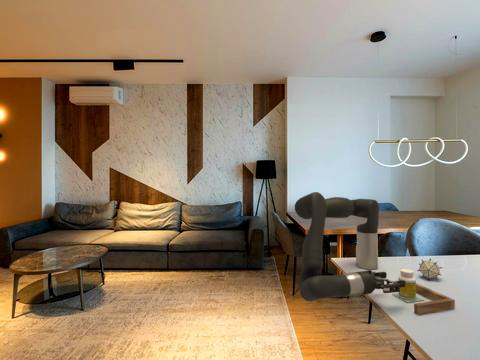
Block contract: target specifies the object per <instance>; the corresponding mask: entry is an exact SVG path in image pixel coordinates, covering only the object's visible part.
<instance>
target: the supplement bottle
mask: <svg viewBox="0 0 480 360" xmlns="http://www.w3.org/2000/svg"><path fill="white" fill-rule="evenodd" d="M399 280H404V281H405V287H402V288H400V292H398V293H399V296H400V297H401V298H403V299H407V300H414V299H416V296H417V293H416V283H417V281H416V277H414V271H413V270H412V269H408V268H401V269H400V275H399V276H398V281H399Z"/></svg>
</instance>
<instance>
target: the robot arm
mask: <svg viewBox="0 0 480 360" xmlns="http://www.w3.org/2000/svg"><path fill="white" fill-rule="evenodd" d="M294 211H295V213H296V215H297V216H299V217H300V218H301V219H303V220H311V221H310V226H309V228H308V232H307V233H306V236H305V238H304V241H303V244H302V250H301V251H302V253H301V255H302V258H301V261H302V266H301V271H300V275H299V283H298V289H299V293H300V296H301V298H302V299H303V300H304V301H306V302H315V301H318V300H323V299H326V298H342V297H358V296H364V295H370V294H373V293H374V291H375V290H381V291H382V293H384V294H395V293H399V292H400V288H402V287H405V281H404V280H399V279H398V280H389V278H388V277H387V276H388V275H387V272H386V271H379V272H378V271H374V270H377V269H379V249H378V247H379V241H378V240H379V239H378V238H379V237H378V229H379V217H380V207H379V202H378V200H376V199H371V198H356V199H350V198H348V197H343V196H342V197H341V196H335V197H328V198H325V197H324V195H322V194H321V193H320V192H319V191H318V192H317V191H314V192H311V193H308V194H306V195H304V196H302V197H300V198H298V199H297V201H295V203H294ZM350 216H352V217H357V218H358V217H359V218H365V219H366V222H365V223H361V224H358V225H357V226H356V245H355V265H357V267H359V268H361V269H364V270H362V271H360V270H359V271H352V272H346V273H345V272H344V273H341V274H333V275H320V273H321V271H322V270H323V267H324V257H323V256H324V254H323V253H324V250H323V243H324V242H323V240H324V232H325V225H326V218H330V219H345V218H349V217H350ZM372 270H373V271H372ZM385 282H386V283H385Z"/></svg>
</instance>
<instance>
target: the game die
mask: <svg viewBox="0 0 480 360" xmlns="http://www.w3.org/2000/svg"><path fill="white" fill-rule="evenodd" d="M437 263H438V262H437V261H436V262H434V261H433V260H432V258H429V259H428V260H423V259H421V263H418V265H419V269H417V271H416V272H419V273H421V274H422V277H426V278H427V280H428V281H430V279H433V278H434V279H435V278H436V279H439V278H438V277H439V276H442V274H441V272H440V271H441V269H442V268H443V267H442V266H439V265H438V264H437Z"/></svg>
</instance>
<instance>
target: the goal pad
mask: <svg viewBox="0 0 480 360" xmlns="http://www.w3.org/2000/svg"><path fill="white" fill-rule="evenodd" d="M391 295H392V296H394V297H396V299H398V300H401V301H403V302H405V303H406V304H411V303H417V302H418V303H419V302H425V301H424V299H422V298H420V297H418V296H417V295H416V299H414V300H407V299H403V298H401V297H400V296H399V292H395V293H391Z"/></svg>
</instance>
